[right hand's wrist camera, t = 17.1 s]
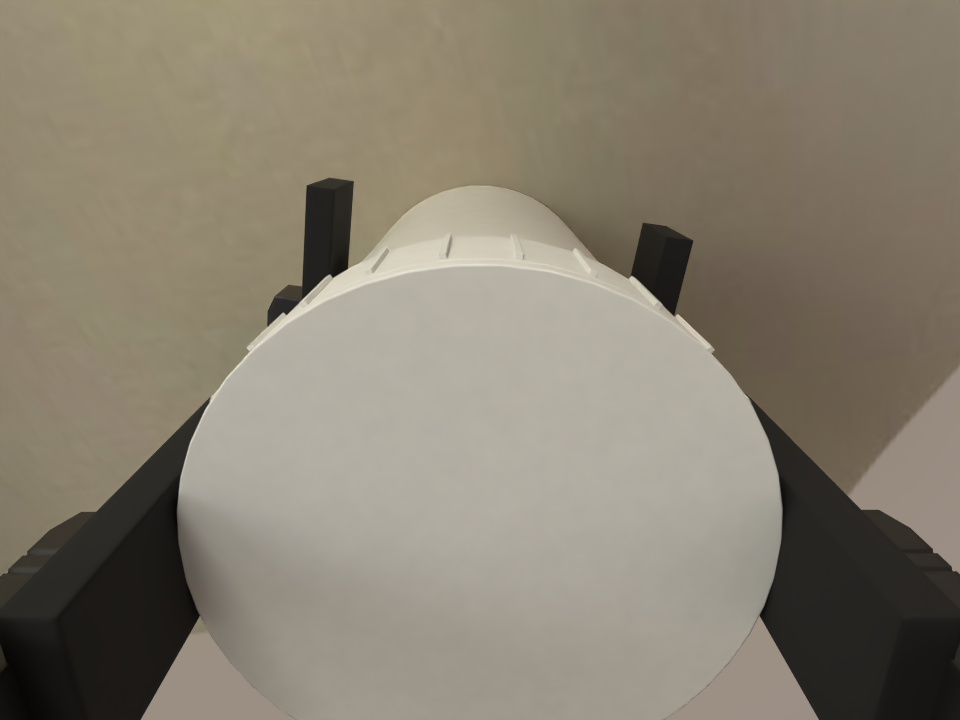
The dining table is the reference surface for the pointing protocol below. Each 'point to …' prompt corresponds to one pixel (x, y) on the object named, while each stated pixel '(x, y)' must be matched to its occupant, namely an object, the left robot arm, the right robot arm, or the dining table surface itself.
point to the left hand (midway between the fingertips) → (501, 207)
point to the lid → (479, 495)
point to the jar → (479, 220)
